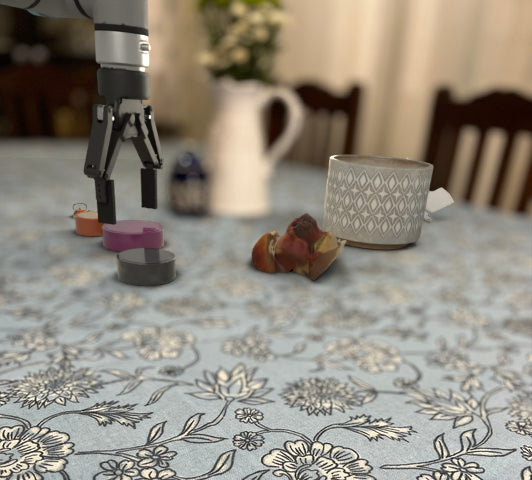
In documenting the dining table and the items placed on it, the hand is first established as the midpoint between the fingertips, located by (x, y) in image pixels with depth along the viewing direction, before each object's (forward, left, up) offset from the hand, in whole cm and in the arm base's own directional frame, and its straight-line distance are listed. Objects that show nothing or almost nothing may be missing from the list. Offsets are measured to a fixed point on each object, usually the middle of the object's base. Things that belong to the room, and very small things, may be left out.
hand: (129, 215), depth 85 cm
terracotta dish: (-10, +4, -5) cm, 11 cm away
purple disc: (0, 0, -5) cm, 5 cm away
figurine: (+44, +50, -5) cm, 67 cm away
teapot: (-19, +13, -5) cm, 23 cm away
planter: (+37, +25, -5) cm, 45 cm away
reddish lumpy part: (+28, +2, -5) cm, 29 cm away
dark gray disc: (+10, -14, -5) cm, 18 cm away
